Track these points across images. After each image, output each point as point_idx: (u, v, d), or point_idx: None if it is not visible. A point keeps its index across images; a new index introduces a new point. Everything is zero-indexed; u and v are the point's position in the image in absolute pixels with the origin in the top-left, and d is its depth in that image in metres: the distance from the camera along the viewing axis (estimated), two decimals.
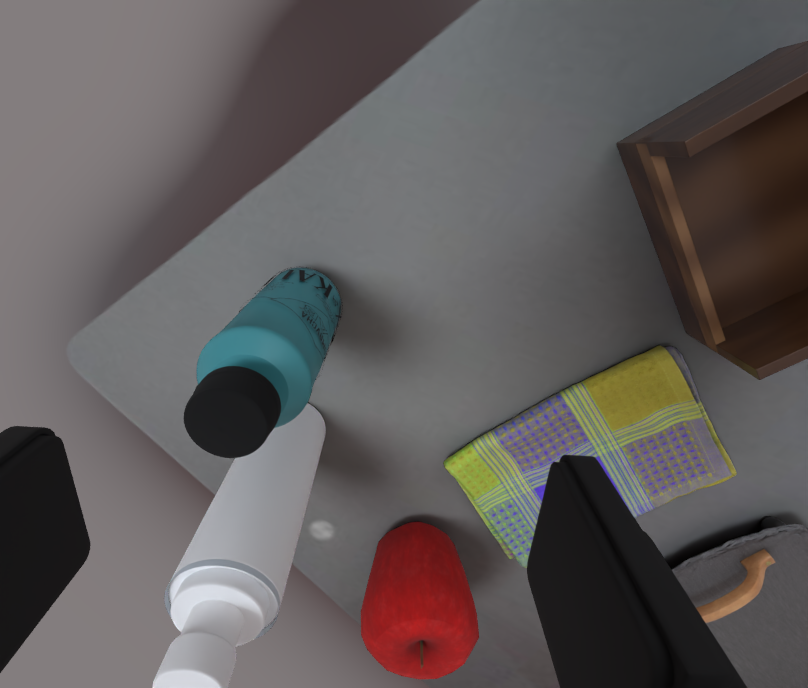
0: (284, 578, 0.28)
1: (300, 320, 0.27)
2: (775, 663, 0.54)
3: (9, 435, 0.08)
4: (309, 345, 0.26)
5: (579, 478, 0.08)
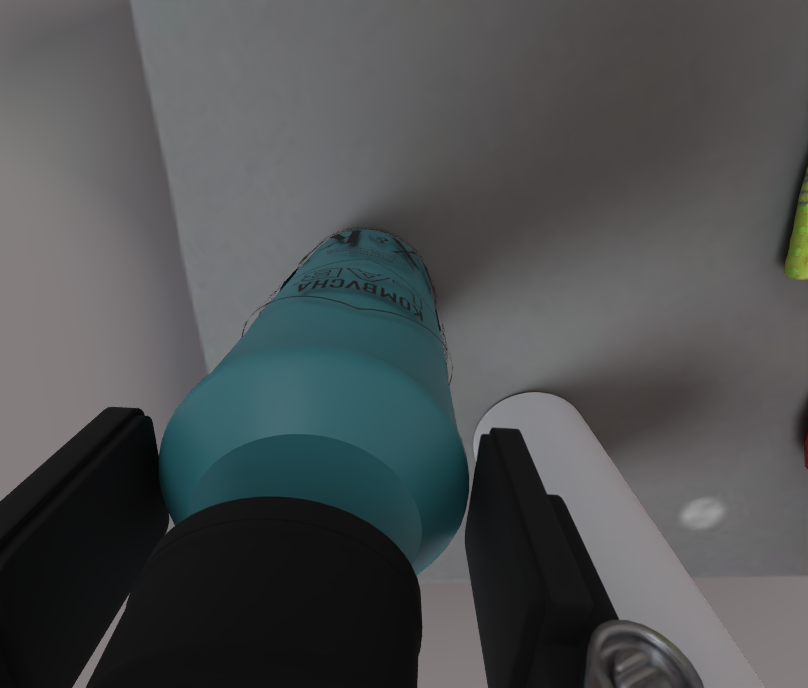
0: None
1: (301, 300, 0.11)
2: None
3: (110, 414, 0.08)
4: (344, 319, 0.10)
5: (500, 447, 0.08)
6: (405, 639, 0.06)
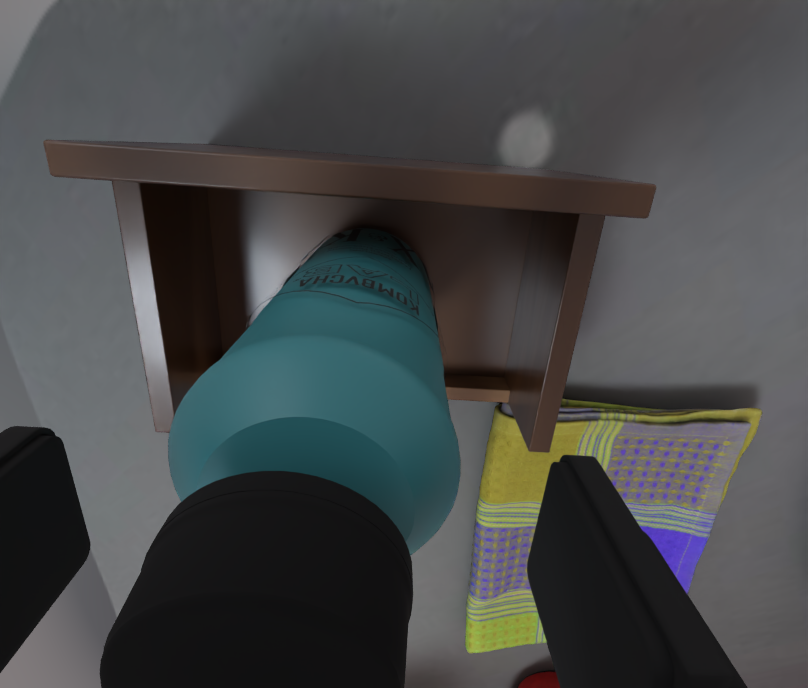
0: None
1: (303, 295, 0.12)
2: None
3: (9, 435, 0.08)
4: (343, 312, 0.10)
5: (579, 478, 0.08)
6: (396, 599, 0.06)
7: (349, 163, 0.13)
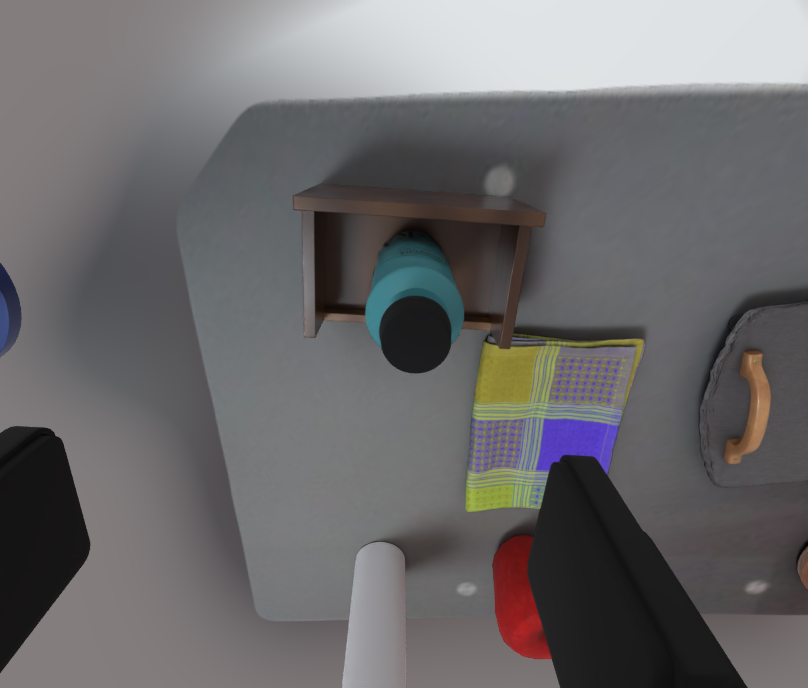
0: (390, 681, 0.45)
1: (403, 257, 0.30)
2: None
3: (9, 435, 0.08)
4: (422, 261, 0.29)
5: (579, 478, 0.08)
6: (448, 324, 0.25)
7: (417, 204, 0.32)
